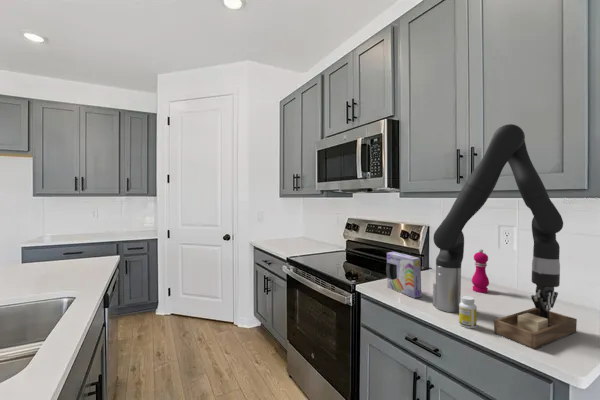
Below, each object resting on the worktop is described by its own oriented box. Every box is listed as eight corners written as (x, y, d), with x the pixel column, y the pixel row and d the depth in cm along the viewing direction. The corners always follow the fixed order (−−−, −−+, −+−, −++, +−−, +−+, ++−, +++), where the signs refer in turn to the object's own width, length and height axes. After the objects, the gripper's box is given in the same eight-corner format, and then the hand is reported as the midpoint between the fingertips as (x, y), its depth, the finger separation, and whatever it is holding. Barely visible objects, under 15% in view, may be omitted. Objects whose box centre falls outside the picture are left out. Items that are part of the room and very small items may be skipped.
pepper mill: (487, 289, 150) (488, 248, 150) (489, 294, 143) (490, 251, 143) (470, 287, 153) (471, 247, 153) (472, 292, 146) (473, 249, 146)
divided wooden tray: (494, 333, 103) (494, 319, 103) (535, 319, 115) (536, 307, 115) (534, 349, 93) (535, 334, 92) (576, 332, 105) (576, 319, 104)
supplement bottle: (470, 322, 112) (471, 295, 112) (479, 328, 107) (480, 300, 106) (455, 322, 112) (456, 295, 112) (464, 328, 106) (464, 300, 106)
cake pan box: (384, 286, 154) (385, 251, 153) (392, 285, 156) (393, 250, 155) (413, 299, 136) (414, 259, 135) (422, 297, 138) (422, 258, 137)
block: (517, 326, 104) (517, 315, 104) (527, 322, 107) (527, 312, 107) (537, 333, 99) (538, 322, 99) (547, 329, 102) (547, 318, 102)
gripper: (542, 266, 112) (541, 313, 113) (522, 270, 106) (521, 320, 107) (568, 271, 106) (566, 321, 106) (548, 275, 100) (547, 329, 100)
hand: (544, 320), depth 107 cm, fingers closed
